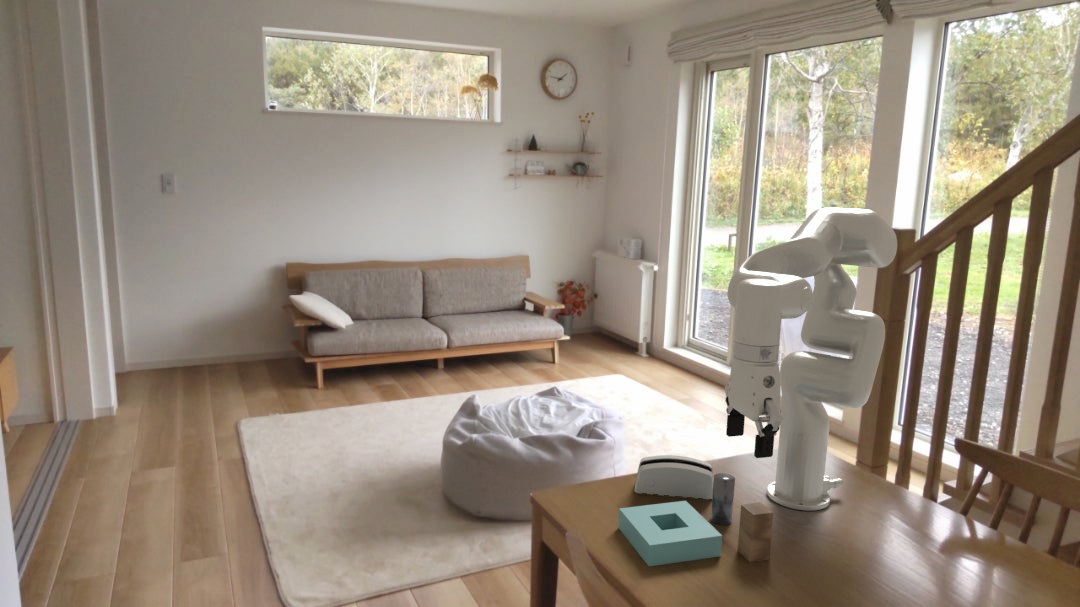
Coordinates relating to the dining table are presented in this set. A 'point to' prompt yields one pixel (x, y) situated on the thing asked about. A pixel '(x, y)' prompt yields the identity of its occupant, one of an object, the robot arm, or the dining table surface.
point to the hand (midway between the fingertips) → (748, 445)
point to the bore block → (669, 533)
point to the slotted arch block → (675, 477)
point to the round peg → (722, 499)
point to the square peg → (755, 531)
